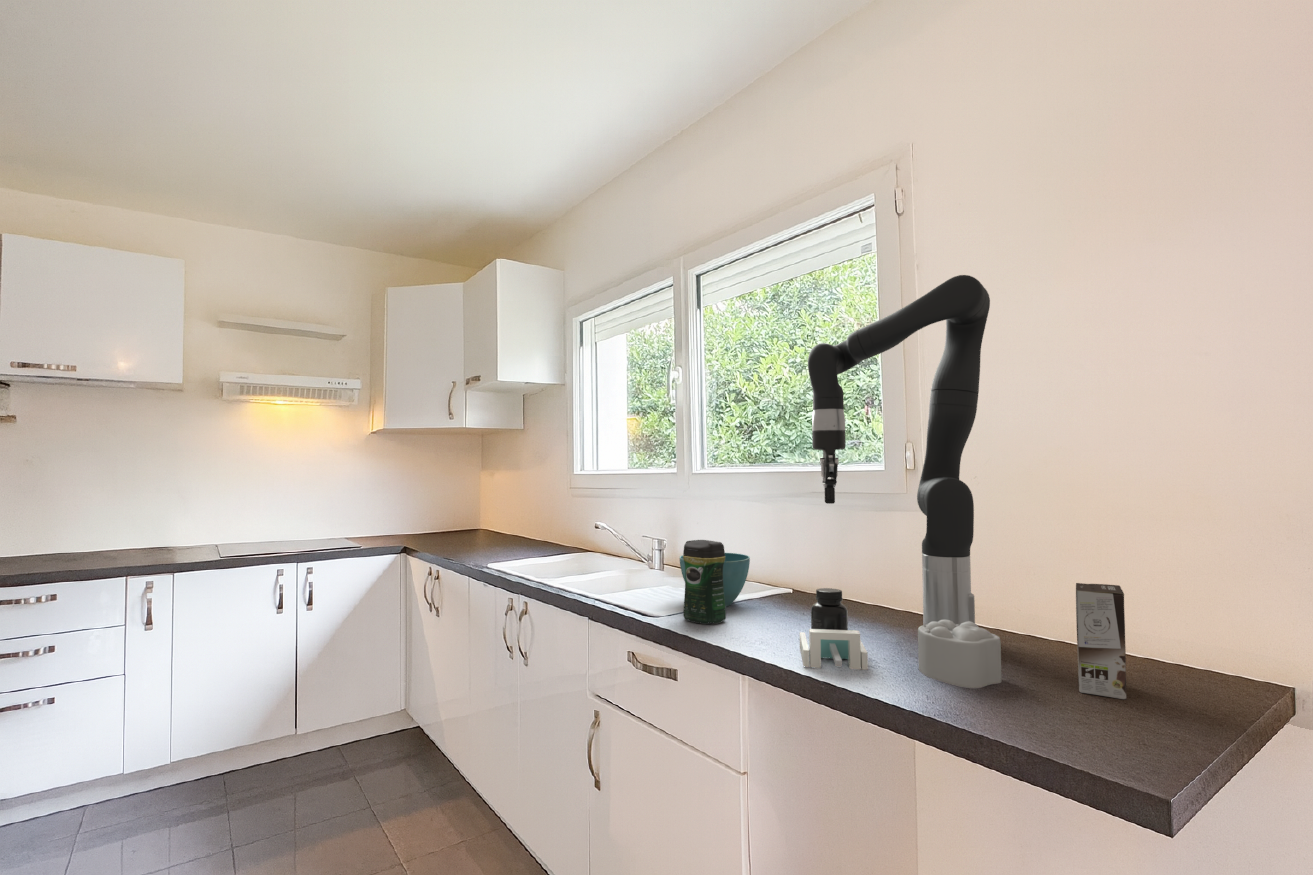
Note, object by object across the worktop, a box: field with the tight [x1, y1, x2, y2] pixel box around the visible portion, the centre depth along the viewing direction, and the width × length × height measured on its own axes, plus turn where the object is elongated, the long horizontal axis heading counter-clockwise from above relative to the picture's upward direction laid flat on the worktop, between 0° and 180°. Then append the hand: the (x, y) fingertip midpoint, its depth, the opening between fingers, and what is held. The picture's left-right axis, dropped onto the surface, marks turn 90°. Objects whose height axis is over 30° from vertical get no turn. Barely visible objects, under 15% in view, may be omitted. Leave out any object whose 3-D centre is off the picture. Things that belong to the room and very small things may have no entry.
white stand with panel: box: [799, 628, 869, 671], centre depth 125 cm, size 11×13×6 cm
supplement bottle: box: [810, 587, 849, 630], centre depth 128 cm, size 7×7×12 cm
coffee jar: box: [682, 539, 727, 625], centre depth 156 cm, size 10×8×19 cm
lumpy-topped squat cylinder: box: [917, 620, 1002, 689], centre depth 115 cm, size 10×13×9 cm
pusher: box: [821, 639, 848, 668], centre depth 119 cm, size 8×12×4 cm, turn 171°
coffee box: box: [1075, 582, 1127, 700], centre depth 108 cm, size 9×6×16 cm
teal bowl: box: [679, 552, 751, 608], centre depth 174 cm, size 18×18×12 cm
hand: (829, 503), depth 157 cm, fingers closed
